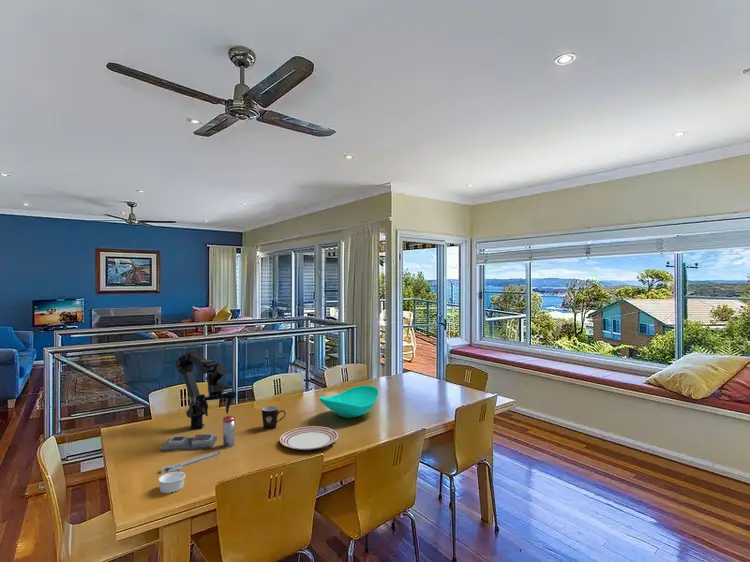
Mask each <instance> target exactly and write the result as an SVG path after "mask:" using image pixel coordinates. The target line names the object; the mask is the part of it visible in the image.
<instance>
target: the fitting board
mask: <svg viewBox="0 0 750 562" xmlns="http://www.w3.org/2000/svg"><path fill="white" fill-rule="evenodd" d="M217 440H218V436H215V433H208V434H207V433H206V434H205V433H204V434H196V435H195V436H194V437H188V435H180V436H179V435H177V436H175V435H174V436H172V437H171V438H168V439H167V440H166V441H165V443H163V444H162V446H161V447H159V452H160V451H163V452H175V451H174V450H183V451H195V450H194V449H202V450H212V449H213V447H214V445H215V444H216V442H217ZM215 441H216V442H215ZM214 443H215V444H214ZM211 448H212V449H211Z"/></svg>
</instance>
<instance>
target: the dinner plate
mask: <svg viewBox="0 0 750 562" xmlns="http://www.w3.org/2000/svg"><path fill="white" fill-rule="evenodd" d="M338 438H339V434H338V432H337V431H336V430H335V429H332V428H329V427H326V426H315V425H314V426H313V425H312V426H302V427H297V428H293V429H291V430H289V431H287V432H284V433H283V434H282V435H281V436H279V443H280V444H281V445H282V446H284V447H287V448H290V449H293V450H300V451H314V450H318V449H321V448H325V447H327V446H329V445H331V444H333V443H334V442H336V440H337V439H338Z"/></svg>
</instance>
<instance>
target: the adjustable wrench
mask: <svg viewBox="0 0 750 562" xmlns="http://www.w3.org/2000/svg"><path fill="white" fill-rule="evenodd" d="M220 454H222V451H221V450H216V451H213V452H210V453H207V454H203V455H202V456H198V457H196V458H192V459H190V460H187V461H183V462H180V463H175V464H169V465H165V466H163V467H161V469H160V474H163V473H165V472H166V474H167V473H170V472H177V471H179V472H181V471H182V469H183V468H182V467H184V466H187V465H190V464H193V463H195V464H197V463H196V462H198V463H200V462H199V461H201V460H204V461H206V460H205V459H207V460H209V459H208V458H210V457H213V458H215V457H214V456H216V457H218V456H217V455H219V456H221V455H220ZM210 459H211V458H210ZM201 462H202V461H201ZM193 465H194V464H193ZM190 466H191V465H190ZM187 467H188V466H187ZM169 468H170V469H169ZM181 468H182V469H181ZM184 468H185V467H184ZM166 470H168V471H166ZM180 470H181V471H180ZM164 471H165V472H164Z"/></svg>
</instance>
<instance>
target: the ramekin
mask: <svg viewBox="0 0 750 562" xmlns="http://www.w3.org/2000/svg"><path fill="white" fill-rule="evenodd" d="M185 479H186V474H185V472H183V471H179V472H170V473H167V472H166V473H164V474H162V475H160V476H159V477H158V483H159V484H158V486H159V491H160V493H163V494H172V493H171V492H174V493H176V492H175V491H177V492H179V491H181V490H182V489H183V488H184V486H185ZM181 488H182V489H181ZM180 489H181V490H180ZM178 490H179V491H178Z"/></svg>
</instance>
